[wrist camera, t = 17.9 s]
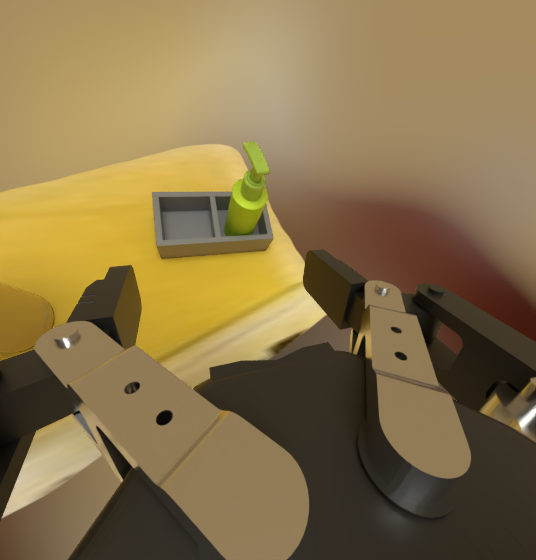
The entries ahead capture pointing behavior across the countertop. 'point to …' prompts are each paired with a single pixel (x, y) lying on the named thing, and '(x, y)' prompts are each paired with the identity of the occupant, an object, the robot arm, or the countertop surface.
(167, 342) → the countertop surface
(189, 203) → the caddy
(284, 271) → the countertop surface
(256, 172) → the soap dispenser
